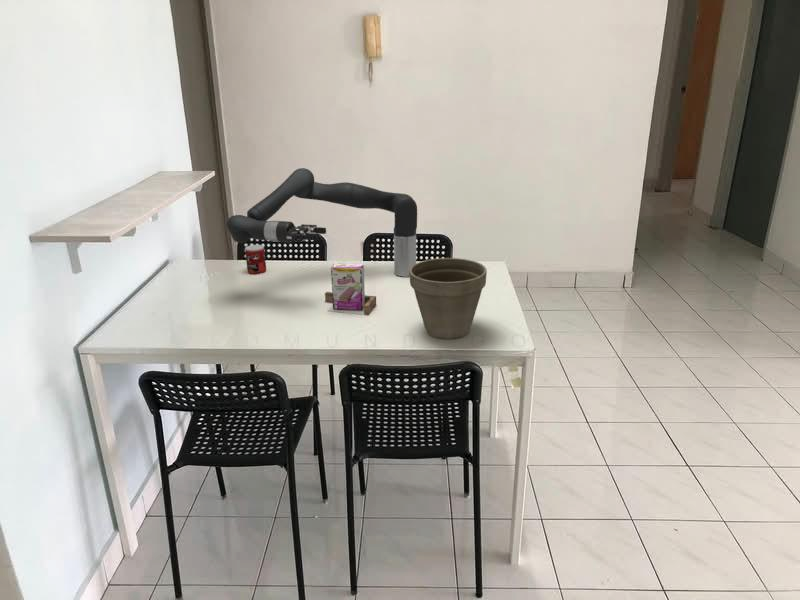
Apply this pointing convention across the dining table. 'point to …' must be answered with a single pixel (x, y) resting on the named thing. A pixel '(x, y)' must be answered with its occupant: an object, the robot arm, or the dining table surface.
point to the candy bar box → (348, 286)
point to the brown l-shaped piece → (368, 307)
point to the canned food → (255, 259)
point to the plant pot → (447, 294)
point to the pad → (347, 311)
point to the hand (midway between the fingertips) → (321, 234)
